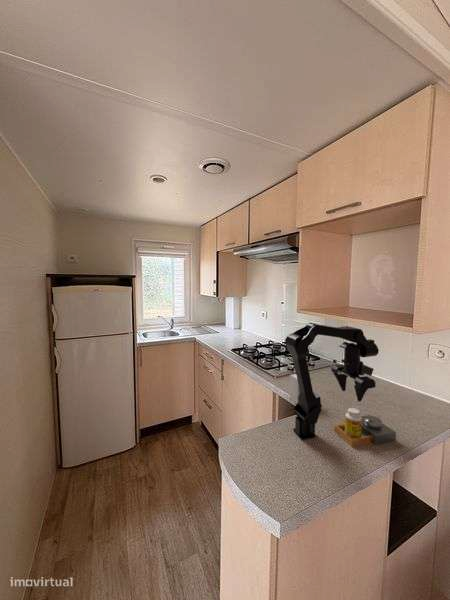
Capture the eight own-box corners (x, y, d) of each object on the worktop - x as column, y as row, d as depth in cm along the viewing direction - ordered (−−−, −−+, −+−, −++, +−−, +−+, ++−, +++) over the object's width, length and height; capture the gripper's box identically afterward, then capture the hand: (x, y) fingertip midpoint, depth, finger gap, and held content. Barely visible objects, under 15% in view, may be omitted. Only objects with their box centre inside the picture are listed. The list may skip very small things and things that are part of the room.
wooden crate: (354, 449, 86) (354, 434, 86) (332, 429, 98) (332, 415, 97) (395, 441, 90) (396, 426, 90) (369, 423, 102) (369, 410, 102)
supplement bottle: (351, 441, 90) (352, 415, 89) (341, 432, 96) (342, 407, 95) (364, 439, 91) (365, 413, 90) (354, 431, 97) (354, 405, 96)
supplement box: (297, 405, 117) (297, 379, 116) (289, 398, 124) (289, 374, 123) (310, 403, 119) (311, 378, 118) (302, 396, 126) (302, 372, 125)
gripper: (388, 364, 91) (387, 404, 92) (353, 350, 109) (352, 384, 110) (362, 366, 89) (361, 408, 90) (330, 352, 107) (330, 387, 108)
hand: (351, 395), depth 100 cm, fingers open, 9 cm apart
